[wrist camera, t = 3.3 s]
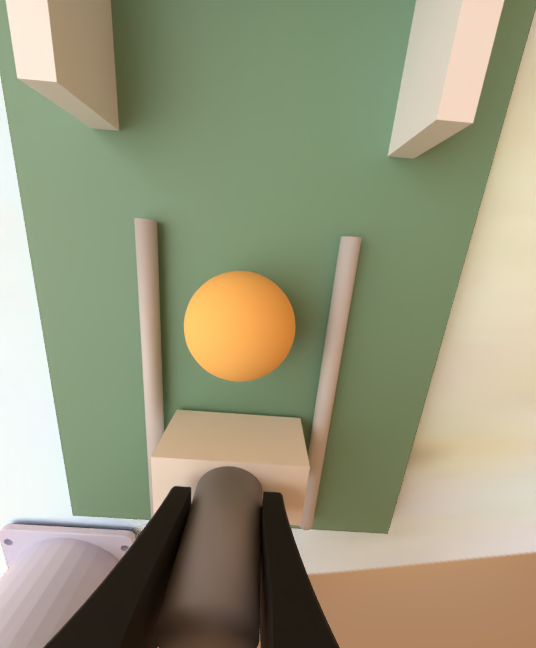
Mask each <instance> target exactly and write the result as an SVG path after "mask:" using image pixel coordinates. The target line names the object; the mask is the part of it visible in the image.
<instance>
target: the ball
mask: <svg viewBox="0 0 536 648" xmlns="http://www.w3.org/2000/svg"><path fill="white" fill-rule="evenodd" d="M184 334H185V339H186V343H187V346H188V349H189V351H190V352H191V354H192V356H193V357H194V359H195V360H196V361H197V362H198V364H199V365H200V366H201V367H202V368H204V369H205V370H206V371H207V372H209V373H210V374H212V375H214V376H216V377H218V378H221V379H224V380H228V381H234V382H244V381H251V380H255V379H258V378H261V377H263V376H265V375H267V374H269V373H270V372H272V371H273V370H275V369H276V368H277V367H278V366H279V365H280V364H281V363H282V362H283V360H284V359H285V358H286V356H287V355H288V353H289V351H290V349H291V347H292V344H293V340H294V336H295V316H294V312H293V308H292V306H291V303H290V301H289V300H288V298H287V296H286V295H285V293H284V292H283V291H282V290H281V289H280V288H279V287H278V285H276V284H275V283H274V282H273V281H271V280H270V279H268V278H266V277H264V276H262V275H260V274H257V273H253V272H248V271H231V272H226V273H222V274H220V275H217V276H215V277H213V278H211V279H210V280H208V281H207V282H206V283H204V284H203V285H202V286H201V287H200V288H199V289H198V290H197V291H196V292H195V294H194V295H193V297H192V298H191V300H190V302H189V304H188V307H187V310H186V313H185V318H184Z"/></svg>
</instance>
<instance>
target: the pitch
mask: <svg viewBox="0 0 536 648" xmlns="http://www.w3.org/2000/svg"><path fill="white" fill-rule="evenodd" d="M415 4H416V0H111V13H112V28H113V43H114V58H115V74H116V89H117V104H118V120H119V131H114V130H104V129H93V128H90V127H89V126H87V125H86V124H84V123H83V122H81V121H80V120H78V119H77V118H76V117H74V116H73V115H71V114H70V113H68V112H67V111H65V110H64V109H62V108H61V107H59V106H58V105H56V104H55V103H53V102H52V101H50V100H49V99H47V98H46V97H44V96H43V95H41V94H40V93H38V92H37V91H35V90H34V89H33V88H31V87H30V86H28V85H27V84H25V83H24V82H22V81H21V80H19V79H18V78H17V73H16V66H15V60H14V53H13V46H12V40H11V33H10V26H9V20H8V13H7V6H6V0H0V76H1V82H2V88H3V94H4V100H5V106H6V112H7V118H8V124H9V130H10V136H11V142H12V148H13V154H14V161H15V167H16V173H17V179H18V185H19V191H20V197H21V203H22V209H23V215H24V221H25V227H26V233H27V239H28V245H29V252H30V258H31V264H32V270H33V276H34V282H35V288H36V294H37V300H38V306H39V312H40V318H41V324H42V330H43V337H44V343H45V349H46V355H47V361H48V367H49V373H50V379H51V385H52V391H53V397H54V403H55V409H56V415H57V421H58V428H59V434H60V440H61V446H62V452H63V458H64V464H65V470H66V476H67V482H68V488H69V494H70V500H71V506H72V513H73V516H90V517H108V518H125V519H142V520H151V518H152V517H153V515H154V512H153V493H152V474H151V455H152V453H153V452H154V450H155V448H156V446H157V444H158V443H159V441H160V439H161V437H162V435H163V434H164V432H165V430H166V428H167V426H168V425H169V423H170V421H171V419H172V417H173V416H174V414H175V412H176V410H191V411H206V412H221V413H235V414H250V415H264V416H279V417H294V418H300V419H301V424H302V429H303V434H304V439H305V444H306V450H307V455H308V460H309V465H310V469H309V476H308V482H307V489H306V495H305V502H304V508H303V514H302V521H301V526H296V525H290V527H291V528H298V529H304V530H310V529H315V530H333V531H350V532H367V533H385V534H388V531H389V528H390V524H391V520H392V517H393V513H394V510H395V506H396V503H397V499H398V496H399V492H400V488H401V485H402V481H403V478H404V474H405V471H406V467H407V464H408V460H409V456H410V453H411V449H412V446H413V442H414V439H415V435H416V432H417V428H418V424H419V421H420V417H421V414H422V410H423V407H424V403H425V400H426V396H427V392H428V389H429V385H430V382H431V378H432V375H433V371H434V368H435V364H436V361H437V357H438V353H439V350H440V346H441V343H442V339H443V336H444V332H445V329H446V325H447V321H448V318H449V314H450V311H451V307H452V304H453V300H454V297H455V293H456V289H457V286H458V282H459V279H460V275H461V272H462V268H463V265H464V261H465V257H466V254H467V250H468V247H469V243H470V240H471V236H472V233H473V229H474V226H475V222H476V218H477V215H478V211H479V208H480V204H481V201H482V197H483V194H484V190H485V186H486V183H487V179H488V176H489V172H490V169H491V165H492V162H493V158H494V154H495V151H496V147H497V144H498V140H499V137H500V133H501V130H502V126H503V122H504V119H505V115H506V112H507V108H508V105H509V101H510V98H511V94H512V91H513V87H514V83H515V80H516V76H517V73H518V69H519V66H520V62H521V59H522V55H523V51H524V48H525V44H526V41H527V37H528V34H529V30H530V27H531V23H532V19H533V16H534V12H535V9H536V0H504V3H503V7H502V11H501V15H500V19H499V23H498V27H497V31H496V35H495V39H494V43H493V47H492V51H491V55H490V58H489V62H488V66H487V70H486V74H485V78H484V82H483V86H482V90H481V94H480V98H479V102H478V106H477V110H476V114H475V117H474V121H473V123H472V124H471V125H469V126H467V127H466V128H464V129H462V130H461V131H459V132H457V133H456V134H454V135H452V136H451V137H449V138H447V139H446V140H444V141H443V142H441V143H439V144H438V145H436V146H434V147H433V148H431V149H429V150H428V151H426V152H424V153H423V154H421V155H419V156H418V157H416V158H414V159H411V158H400V157H389V156H388V152H389V146H390V141H391V135H392V130H393V124H394V119H395V113H396V108H397V102H398V97H399V91H400V86H401V80H402V75H403V69H404V64H405V59H406V53H407V48H408V42H409V37H410V31H411V26H412V20H413V15H414V9H415ZM231 271H248V272H253V273H257V274H260V275H262V276H264V277H266V278H268V279H270V280H271V281H273V282H274V283H275V284H276V285H278V287H279V288H280V289H281V290H282V291H283V292H284V293H285V295H286V296H287V298H288V300H289V301H290V303H291V306H292V308H293V312H294V316H295V336H294V340H293V344H292V347H291V349H290V351H289V353H288V355H287V356H286V358H285V359H284V360H283V362H282V363H281V364H280V365H279V366H278V367H277V368H276V369H275V370H273V371H272V372H270V373H269V374H267V375H265V376H263V377H261V378H258V379H255V380H251V381H244V382H234V381H228V380H224V379H221V378H218V377H216V376H214V375H212V374H210V373H209V372H207V371H206V370H205V369H204V368H202V367H201V366H200V365H199V364H198V362H197V361H196V360H195V359H194V357H193V356H192V354H191V352H190V351H189V349H188V346H187V343H186V339H185V334H184V318H185V313H186V310H187V307H188V304H189V302H190V300H191V298H192V297H193V295H194V294H195V292H196V291H197V290H198V289H199V288H200V287H201V286H202V285H203V284H204V283H206V282H207V281H208V280H210V279H211V278H213V277H215V276H217V275H220V274H222V273H226V272H231Z"/></svg>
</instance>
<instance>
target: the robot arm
mask: <svg viewBox="0 0 536 648" xmlns="http://www.w3.org/2000/svg"><path fill="white" fill-rule="evenodd" d="M190 507H191V487H183V486H174V487H173V488H171V490H170V492H169V493H168V495H167V496H166V498H165V499H164V501H163V502H162V504H161V505H160V507H159V508H158V510H157V511H156V513H155V514H154V515H153V517H152V518H151V520H150V521H149V522H148V524H147V525H146V527H145V528H144V529H143V531H142V532H141V533H140V535H139V536H138V537H137V539H136V536H135V534H134V533H133V532H131V531H128V530H113V529H95V528H77V527H60V526H42V525H24V524H7V525H5V526H4V527H3V528H2V529H1V530H0V541H1V545H2V548H3V552H4V555H5V559H6V563H7V566H8V570H7V571H6V572H5V573H4V575H3V576H2V577H1V578H0V648H157V647H158V645H157V643H156V641H155V637H154V630H155V626H156V622H157V619H158V616H159V612H160V609H161V605H162V602H163V599H164V595H165V592H166V588H167V585H168V582H169V578H170V575H171V571H172V568H173V565H174V561H175V558H176V555H177V551H178V548H179V544H180V541H181V538H182V534H183V531H184V527H185V524H186V521H187V517H188V514H189V510H190ZM260 641H261V648H339V645H338V643H337V641H336V639H335V637H334V635H333V633H332V631H331V629H330V626H329V624H328V622H327V620H326V618H325V616H324V614H323V611H322V609H321V607H320V604H319V602H318V600H317V597H316V595H315V592H314V590H313V588H312V585H311V583H310V580H309V578H308V575H307V573H306V570H305V568H304V565H303V562H302V559H301V557H300V554H299V551H298V548H297V545H296V543H295V540H294V537H293V534H292V530H291V527H290V524H289V520H288V517H287V513H286V509H285V505H284V500H283V495H282V494H281V493H280V492H265V491H263V501H262V522H261V583H260Z"/></svg>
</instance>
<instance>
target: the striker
mask: <svg viewBox="0 0 536 648" xmlns="http://www.w3.org/2000/svg"><path fill="white" fill-rule="evenodd" d="M309 469H310V465H309V460H308V455H307V450H306V444H305V439H304V434H303V429H302V424H301V419H300V418H294V417H279V416H264V415H250V414H235V413H221V412H206V411H191V410H176V412H175V414H174V416H173V417H172V419H171V421H170V423H169V425H168V426H167V428H166V430H165V432H164V434H163V435H162V437H161V439H160V441H159V443H158V444H157V446H156V448H155V450H154V452H153V453H152V455H151V474H152V493H153V512H154V514H155V513H156V511H157V510H158V508H159V507H160V505H161V504H162V502H163V501H164V499H165V498H166V496H167V495H168V493H169V492H170V490H171V488H173V487H174V486H183V487H191V507H190V510H189V514H188V517H187V521H186V524H185V527H184V531H183V534H182V538H181V541H180V544H179V548H178V551H177V555H176V558H175V561H174V565H173V568H172V571H171V575H170V578H169V582H168V585H167V588H166V592H165V595H164V599H163V602H162V605H161V609H160V612H159V616H158V619H157V622H156V626H155V630H154V637H155V641H156V643H157V645H158V647H159V648H257V646H258V644H259V633H260V632H259V631H260V583H261V522H262V501H263V491H265V492H280V493H281V494H282V495H283V500H284V505H285V509H286V513H287V517H288V520H289V524H290V525H296V526H301V521H302V514H303V508H304V502H305V495H306V489H307V482H308V476H309Z"/></svg>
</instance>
